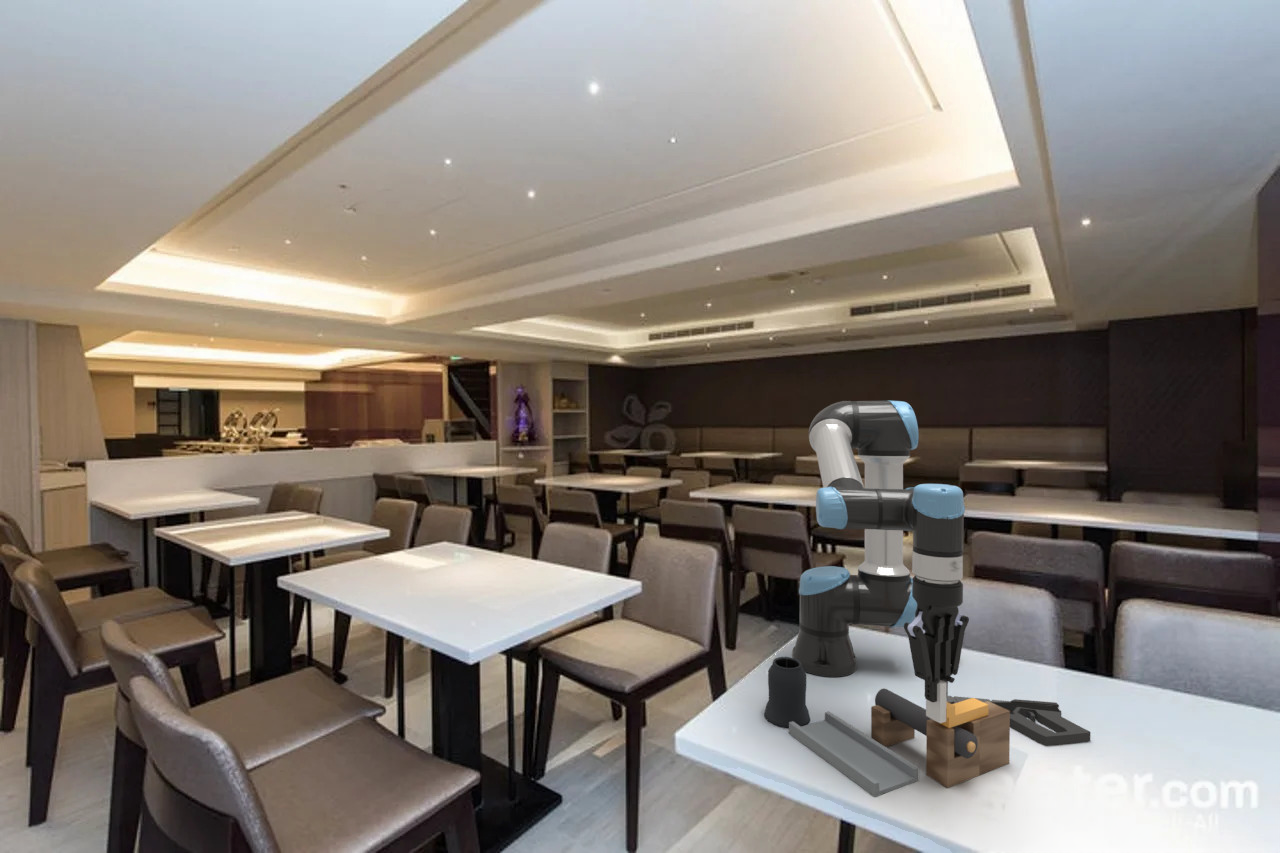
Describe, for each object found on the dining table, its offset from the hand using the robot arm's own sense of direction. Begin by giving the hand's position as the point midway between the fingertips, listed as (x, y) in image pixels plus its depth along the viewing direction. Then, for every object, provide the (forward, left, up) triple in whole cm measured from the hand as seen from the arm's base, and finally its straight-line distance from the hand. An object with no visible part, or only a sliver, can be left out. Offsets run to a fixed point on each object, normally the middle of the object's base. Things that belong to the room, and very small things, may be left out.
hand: (936, 718), depth 98 cm
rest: (-12, +4, -11) cm, 17 cm away
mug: (-29, -8, -11) cm, 32 cm away
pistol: (-7, +29, -11) cm, 32 cm away
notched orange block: (0, +6, -1) cm, 6 cm away
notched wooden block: (0, +8, -11) cm, 13 cm away
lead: (-6, +4, -6) cm, 9 cm away
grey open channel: (-12, -7, -11) cm, 18 cm away
